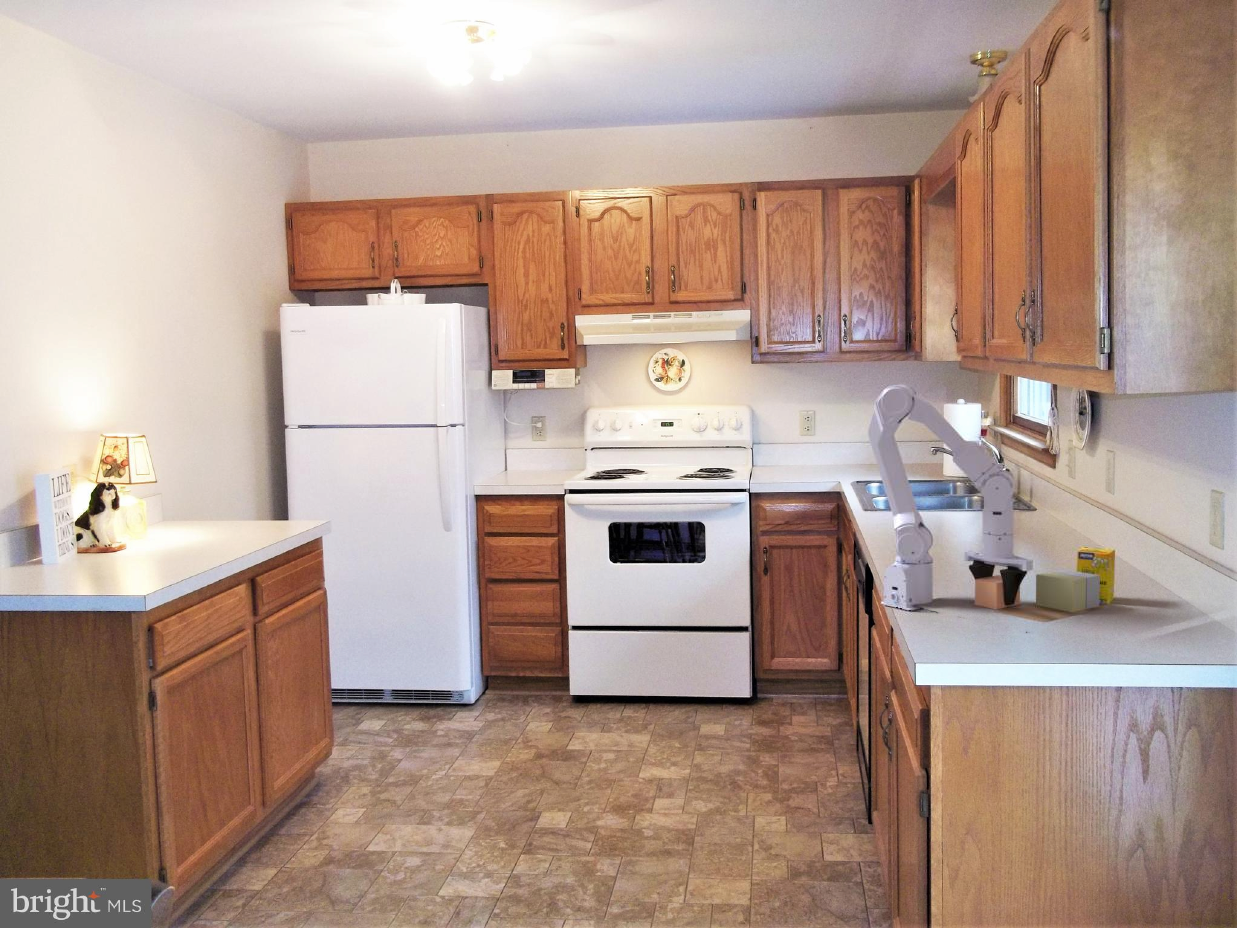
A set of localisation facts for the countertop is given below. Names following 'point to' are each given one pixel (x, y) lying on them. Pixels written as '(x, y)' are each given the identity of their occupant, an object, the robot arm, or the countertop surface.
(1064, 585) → the olive book
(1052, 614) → the walnut board
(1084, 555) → the supplement box
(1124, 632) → the countertop surface
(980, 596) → the terracotta block
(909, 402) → the robot arm
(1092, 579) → the slate book
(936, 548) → the countertop surface
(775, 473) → the countertop surface
